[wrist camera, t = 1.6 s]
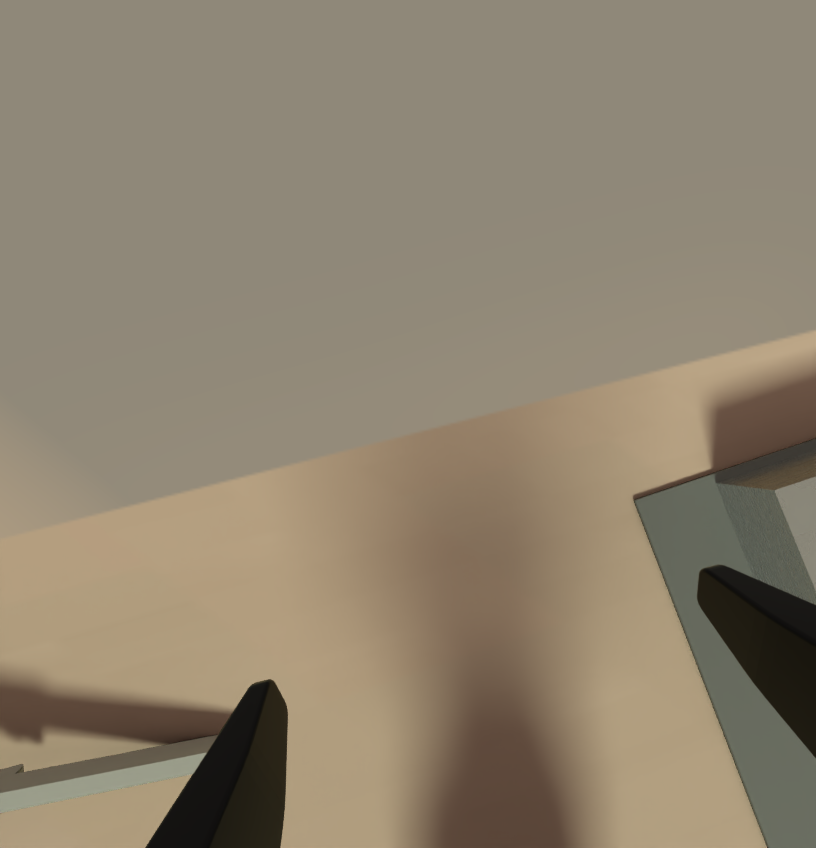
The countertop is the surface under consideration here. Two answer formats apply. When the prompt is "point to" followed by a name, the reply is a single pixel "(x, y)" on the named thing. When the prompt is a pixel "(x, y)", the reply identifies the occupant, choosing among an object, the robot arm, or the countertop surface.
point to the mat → (722, 674)
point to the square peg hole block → (777, 522)
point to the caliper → (99, 774)
